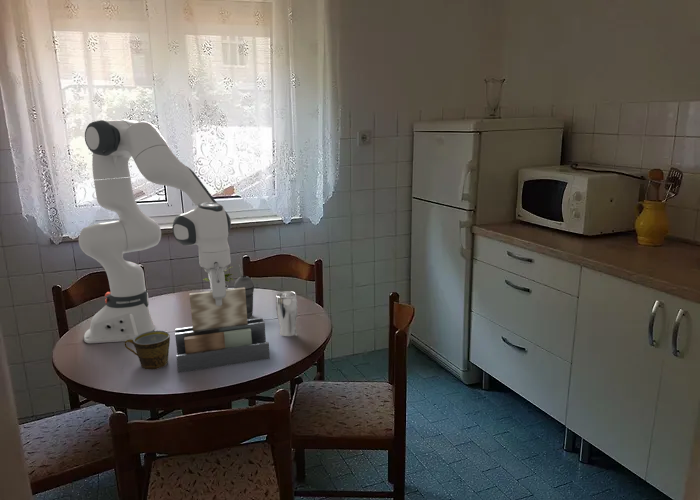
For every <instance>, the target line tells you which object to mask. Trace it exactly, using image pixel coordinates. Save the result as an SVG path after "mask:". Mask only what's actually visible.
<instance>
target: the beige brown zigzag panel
mask: <svg viewBox="0 0 700 500" xmlns="http://www.w3.org/2000/svg"><path fill="white" fill-rule="evenodd" d="M189 304H190V312H191V314H190V315H191V325H192V327H193V331H196V330H203V329H211V328H219V327H226V326H234V325H241V324H248V322H247V320H248V319H247V308H246V294H245V287H243V288H234V287H233V288H228V289H226V297H225V298H222V305H221V306H216V302H215V299H214V298H213V295H212V291H211V290H208V291H199V292H191V293H190V292H189Z"/></svg>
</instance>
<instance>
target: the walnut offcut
mask: <svg viewBox="0 0 700 500" xmlns="http://www.w3.org/2000/svg"><path fill="white" fill-rule="evenodd" d="M184 341H185V351H186V354H187V353H194V352H201V351H208V350H215V349H222V348H225V339H224V332H219V333H212V334H204V335H197V336H189V337H184Z"/></svg>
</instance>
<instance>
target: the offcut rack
mask: <svg viewBox="0 0 700 500" xmlns="http://www.w3.org/2000/svg"><path fill="white" fill-rule="evenodd" d="M247 322H248V324H241V325H234V326H226V327H219V328H211V329H203V330H196V331H193V326H187V327H178V328H175V333H174V335H175V336H174V337H175V345H176V363H177V373H185V372H186V373H187V372H193V371H197V370H198V371H200V370H205V369H212V368H219V367H225V366H231V365H233V366H234V365H237V364H244V363H252V362H258V361H264V360H271V359H270V343H269V341H266V339H267V338H266V322H265V321H264V318H263V317H257V318H248V319H247ZM248 328H250V329H251V337H252V344H250V345H243V346H236V347H229V348H222V349H215V350H208V351H201V352H194V353H187V354H186V351H185V341H184V337H189V336H197V335H204V334H212V333H219V332H226V331H233V330H241V329H248Z"/></svg>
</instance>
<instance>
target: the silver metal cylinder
mask: <svg viewBox="0 0 700 500" xmlns="http://www.w3.org/2000/svg"><path fill="white" fill-rule="evenodd" d="M297 298H298V297H297V293H296V292H295V291H292V290H291V291H290V290H289V291H288V290H286V291H281V292H277V293H276V295H275V309H276V316H277V319H278V323H279V336H281V337H291V336H293V337H294V336H295V337H297V338H298V332H297V316H298V300H297Z"/></svg>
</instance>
